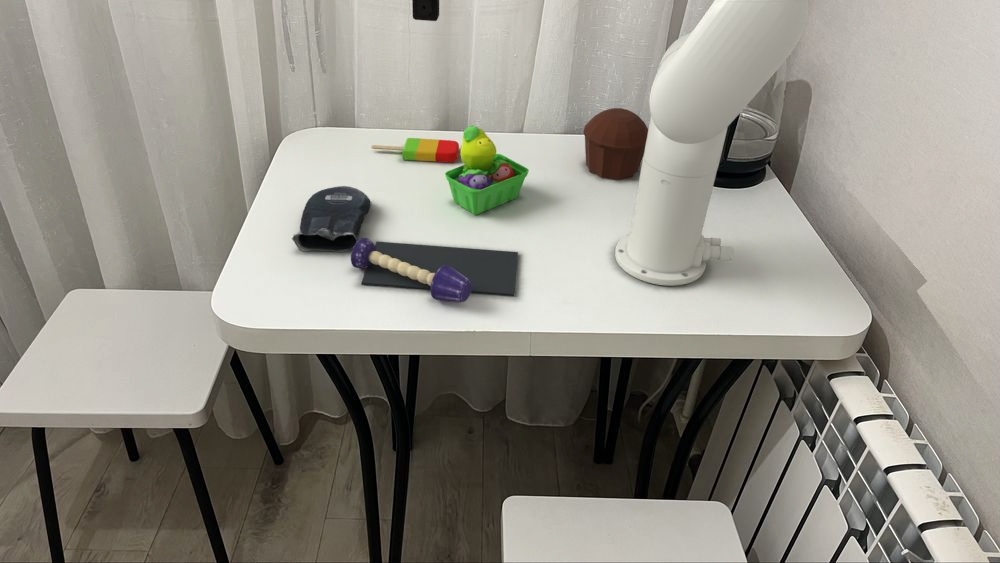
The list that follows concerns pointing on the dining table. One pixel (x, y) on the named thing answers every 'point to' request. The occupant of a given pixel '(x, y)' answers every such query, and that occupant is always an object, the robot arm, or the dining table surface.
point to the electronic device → (332, 219)
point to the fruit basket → (484, 174)
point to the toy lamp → (415, 272)
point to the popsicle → (426, 150)
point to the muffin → (615, 143)
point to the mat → (478, 265)
